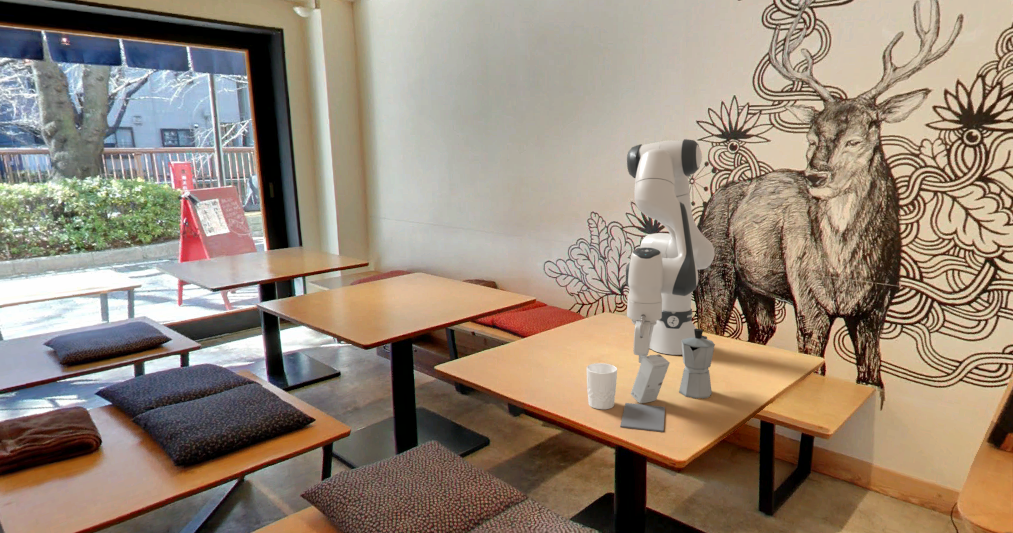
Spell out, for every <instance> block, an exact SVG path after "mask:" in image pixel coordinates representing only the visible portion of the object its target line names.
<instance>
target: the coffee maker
mask: <svg viewBox="0 0 1013 533" xmlns="http://www.w3.org/2000/svg"><path fill="white" fill-rule="evenodd" d="M694 332H695V337H692V338H686V339H683V340H681V342H682V353H683V355H682V360H683V361H682V362H683V364H684V369H683V371H682V377H681V381H680V385H679V386H680V387H679V391H678V393H679V394H681V395H682V396H685V398H690V397H692V398H691V399H696V398H697V399H696V400H699V399H698V398H702V399H709V398H708V397H710V398H711V396H712V394H713V390H712V384H711V383H712V382H711V373H710V370H709V368H710V367H711V364H712V361H713V355H714V351H715V345H716V344H715V343H714V341H713V340H711V339H708V336H706V335H703V332H704V330H703V329H702V328H696V329H694ZM710 395H711V396H710Z"/></svg>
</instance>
